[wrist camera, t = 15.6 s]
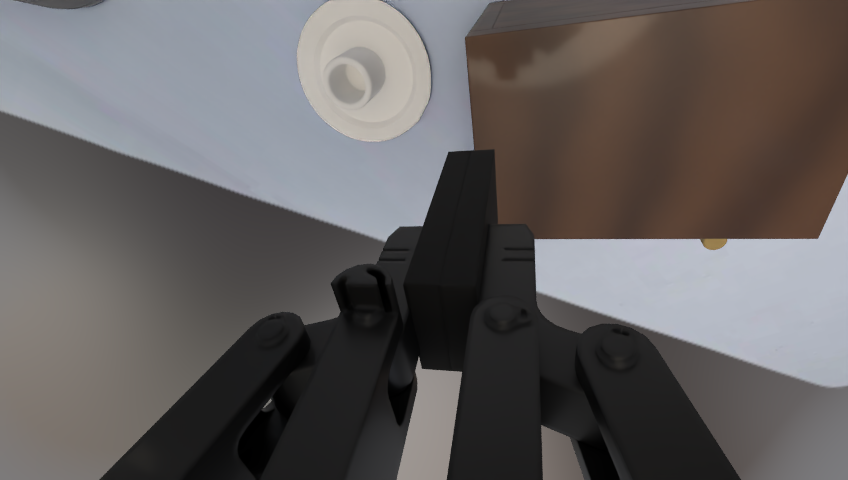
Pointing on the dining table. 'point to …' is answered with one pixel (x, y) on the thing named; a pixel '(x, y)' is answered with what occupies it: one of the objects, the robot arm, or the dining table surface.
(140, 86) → the dining table surface
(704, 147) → the cabinet
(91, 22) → the dining table surface
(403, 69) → the candle holder
